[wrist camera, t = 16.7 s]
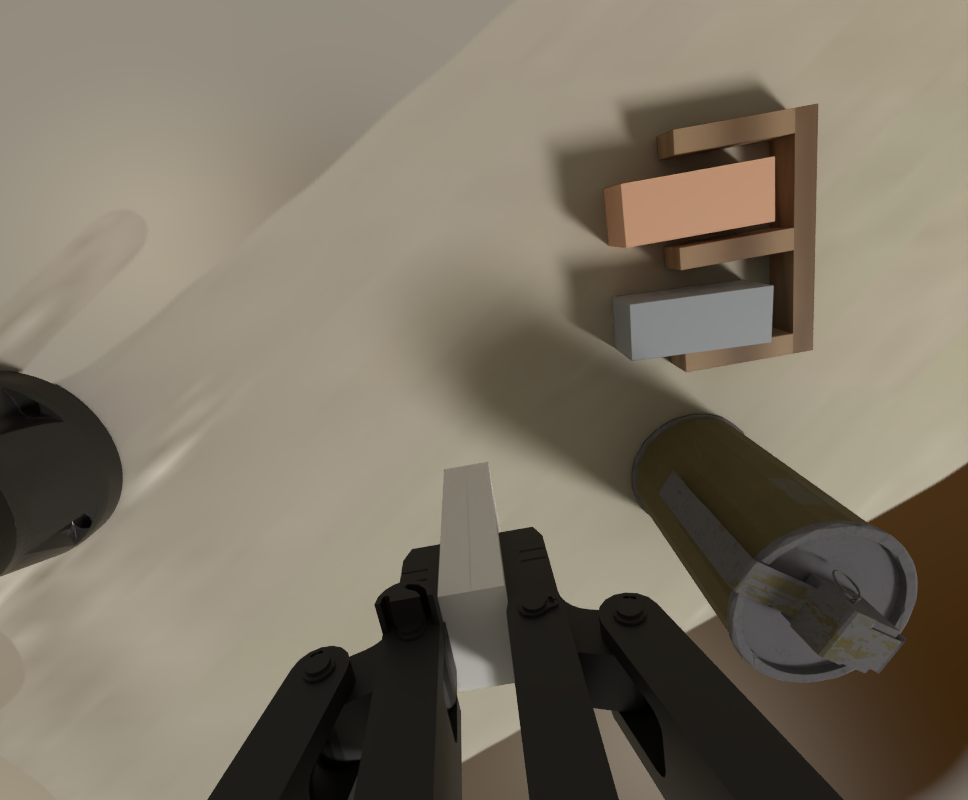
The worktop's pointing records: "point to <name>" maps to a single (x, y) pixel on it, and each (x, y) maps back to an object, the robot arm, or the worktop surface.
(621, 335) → the slate bar
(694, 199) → the terracotta bar
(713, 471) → the canister
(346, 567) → the worktop surface
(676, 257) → the comb rack
